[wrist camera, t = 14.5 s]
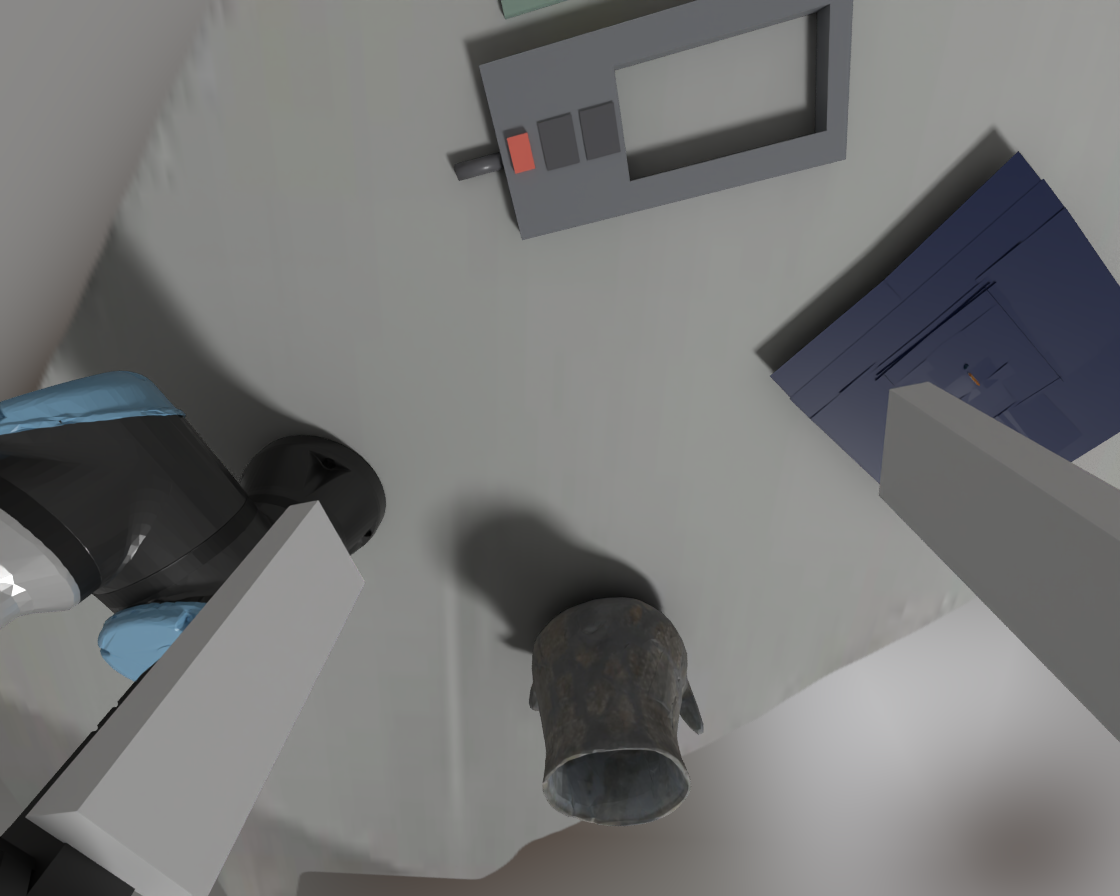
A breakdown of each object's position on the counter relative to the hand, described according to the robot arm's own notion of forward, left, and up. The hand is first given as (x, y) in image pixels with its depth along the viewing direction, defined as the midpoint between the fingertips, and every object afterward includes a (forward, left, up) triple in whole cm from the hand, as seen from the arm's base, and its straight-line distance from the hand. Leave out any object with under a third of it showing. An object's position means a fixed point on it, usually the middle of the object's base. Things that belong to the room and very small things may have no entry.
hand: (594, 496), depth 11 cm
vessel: (-7, -48, -37) cm, 61 cm away
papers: (+35, -19, -37) cm, 54 cm away
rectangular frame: (+9, +9, -37) cm, 39 cm away
